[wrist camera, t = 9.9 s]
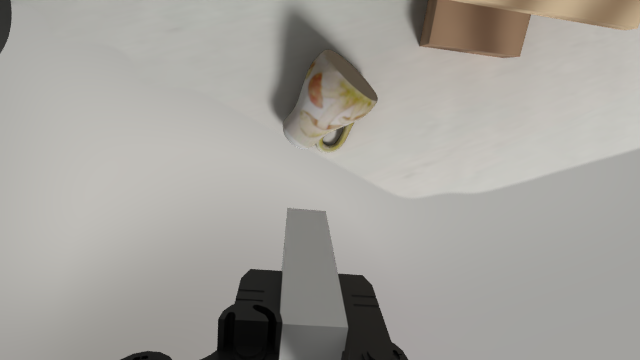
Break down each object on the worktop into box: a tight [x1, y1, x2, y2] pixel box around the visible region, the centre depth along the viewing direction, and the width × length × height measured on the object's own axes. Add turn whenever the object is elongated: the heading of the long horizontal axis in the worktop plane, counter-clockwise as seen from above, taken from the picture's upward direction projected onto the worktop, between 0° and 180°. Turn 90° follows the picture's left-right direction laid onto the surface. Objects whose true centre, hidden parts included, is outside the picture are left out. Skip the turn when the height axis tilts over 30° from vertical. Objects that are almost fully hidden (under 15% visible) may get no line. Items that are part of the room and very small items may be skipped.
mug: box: [283, 49, 378, 153], centre depth 36 cm, size 8×10×10 cm
